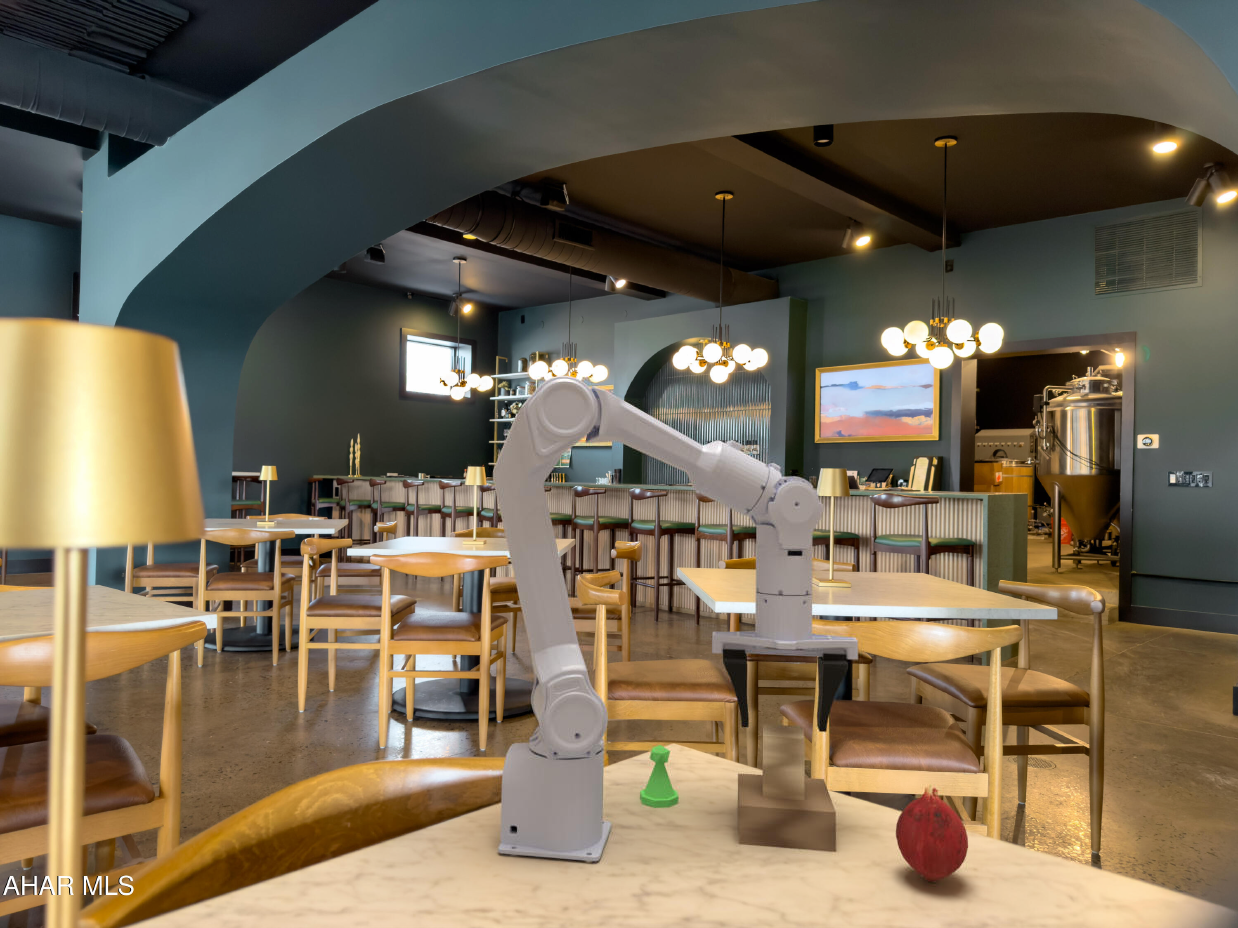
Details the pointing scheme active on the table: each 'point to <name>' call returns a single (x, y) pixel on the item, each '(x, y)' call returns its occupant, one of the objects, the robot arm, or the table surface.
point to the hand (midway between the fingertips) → (783, 726)
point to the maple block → (783, 762)
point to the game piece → (659, 782)
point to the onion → (931, 836)
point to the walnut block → (786, 817)
